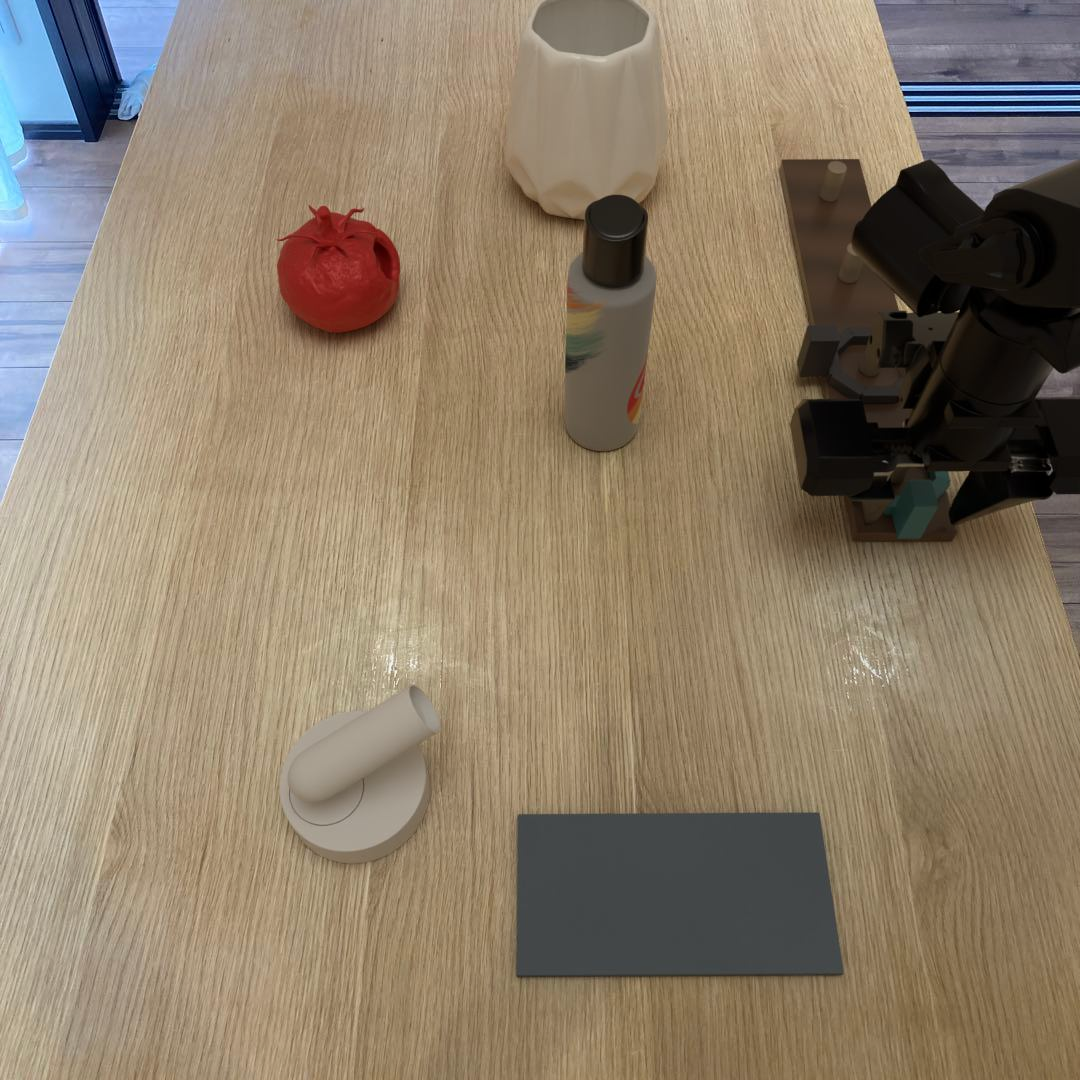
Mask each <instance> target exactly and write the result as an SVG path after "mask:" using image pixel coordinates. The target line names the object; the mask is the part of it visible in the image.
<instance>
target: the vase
mask: <svg viewBox="0 0 1080 1080" xmlns="http://www.w3.org/2000/svg"><path fill="white" fill-rule="evenodd" d="M662 55H663V54H662V42H661V31H660V25H659V21H658V18H657V16H656V15H655V14H654V12H653V11H652V9H650V8H649V7H648V6H647V5H645V4H644V3H642V2H641V1H640V0H539V1H537V2H536V3H534V5H533V6H532V7H531V8H530V10H529V12H528V15H527V19H525V22H524V26H523V28H522V31H521V34H520V39H519V44H518V51H517V57H516V63H515V67H514V72H513V76H512V82H511V86H510V91H509V96H508V97H509V98H508V103H507V107H506V116H505V160H504V161H505V165H506V168H507V170H508V172H509V173H510V174H511V176H512V178H513V179H514V181H515V182H516V183H517V185H518V186H519V187H520V188H521V190H522V192H523V194H524V195H525V196H526V197H527V198H529V199H530V200H532V201H534V202H536V203H538V204H539V206H540V207H541V209H542V210H543V211H544V212H545V213H546V214H548V215H551V216H555V217H560V218H561V217H562V218H566V219H569V218H570V219H574V220H575V219H577V220H581V221H584V219H585V211H586V209H587V207H588V206H589V205H590V204H591V203H592V202H594V201H597V200H600V199H601V198H603V197H606V196H609V195H625V196H628V197H630V198H632V199H634V200H635V201H636V202H637V203H638V204H639V203H642V202H643V201H644V200H645V199H646V198H647V196H648V195H649V194H650V193H651V190H652V189H653V188H654V186H655V184H656V181H657V176H658V173H659V169H660V166H661V162H662V160H663V155H664V153H665V149H666V146H667V144H668V141H669V136H670V135H669V134H670V133H669V121H668V111H667V105H666V104H667V102H666V96H665V83H664V68H663V56H662Z"/></svg>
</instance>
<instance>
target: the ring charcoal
mask: <svg viewBox="0 0 1080 1080" xmlns="http://www.w3.org/2000/svg"><path fill="white" fill-rule="evenodd" d="M870 330H871V327H848V328H845V329H843V330H842V331H841V332H840V333H838V328H837V325H810V324H809V325H807V326H806V330H805V332H804V336H803V339H802V342H801V346H800V350H799V352H798V356H797V359H796V365H797V371H798V376H799V377H800V378H820V377H826V380H827V382H829V383H828V384H829V385H830V386H832V387H833V388H835V389H836V390H838V391H839V392H841V393H842V394H844V395H845V396H847V397H848V398H850V399H859V400H862V401H863V404H895V403H896V402H897V403H898V402H899V401H900V399H899V395H898V393H899V391H900V389H901V387H902V384H903V382H904V379H903V377H901V378H900V379H899V380H898V381H897V382H896V383H895V384H894V385H893V386H864V385H863V384H861V383H860V382H858V381H857V380H855V379H854V378H852V377H850V376H849V375H847V374H846V373H844V372H843V371H842V370H841V365H840V361H839V356H838V355H839V354H840V353H842V352H843V351H844V350H845V349H846V348H847V347H848V346H849V345H850V344H868V340H869V335H870Z"/></svg>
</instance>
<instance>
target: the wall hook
mask: <svg viewBox="0 0 1080 1080" xmlns="http://www.w3.org/2000/svg"><path fill="white" fill-rule="evenodd" d="M441 727H442V726H441V720H440V717H439V714H438V711H437V710H436V708H435V706H434V703H433V702H432V701H431V699H430V697H428V695H427V693H425V691H424V690H423V689H422V688H421V687H419V686H418V685H416V684H413V683H412V684H410V685H407V686H406V687H404V688H403V689H401V690H399V691H398V692H396V693H394V694H393V695H392V696H390V697H388V698H386V699H385V700H384V701H382V702H380V703H379V704H377V705H375V706H374V707H372V708H370V709H369V710H365V709H364V710H363V709H362V710H361V709H359V710H358V709H357V710H348V711H342V712H338V713H334V714H332V715H330V716H327V717H325V718H323V719H321V720H319V721H318V722H316V723H315V724H313V725H312V726H310V727H309V728H308V729H307V730H306V731H305V732H303V734H302V735H300V736H299V738H298V739H297V740H296V742H294V743H293V745H292V746H291V748H290V749H289V752H288V753H287V755H286V757H285V760H284V762H283V765H282V768H281V772H280V776H279V777H280V778H279V797H280V803H281V807H282V810H283V813H284V815H285V817H286V819H287V821H288V822H289V824H290V826H291V827H292V829H293V830H294V831H295V833H296V834H297V836H298V837H299V839H300V841H302V842H303V844H304V845H305V846H306V847H307V848H309V849H310V850H311V851H312V852H314V853H315V854H316V855H318V856H320V857H322V858H324V859H325V860H329V861H332V862H336V863H341V864H350V865H351V864H352V865H353V864H354V865H355V864H364V863H370V862H373V861H377V860H380V859H382V858H384V857H386V856H389V855H390V854H392V853H393V852H395V851H397V850H399V849H400V848H401V847H402V846H403V845H404V844H405V843H407V842H408V841H409V840H410V838H411V837H412V836H413V835H414V834H415V832H416V831H417V830H418V829H419V827H420V825H421V823H422V822H423V819H424V818H425V815H426V812H427V811H428V806H429V803H430V796H431V780H430V775H429V770H428V767H427V763H426V759H425V756H424V753H423V750H422V748H421V746H420V744H422V743H423V742H425V741H428V739H430V738H432V737H433V736H435V735H436V734H438V733H440V732H441Z"/></svg>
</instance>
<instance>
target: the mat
mask: <svg viewBox="0 0 1080 1080" xmlns="http://www.w3.org/2000/svg"><path fill="white" fill-rule="evenodd" d="M516 871H517V873H516V875H517V881H516V882H517V883H516V889H517V890H516V894H517V895H516V907H517V908H516V978H611V977H612V978H615V977H619V978H621V977H622V978H623V977H624V978H625V977H626V978H627V977H629V978H630V977H632V978H633V977H637V978H638V977H639V978H640V977H645V978H646V977H790V976H791V977H793V976H794V977H796V976H797V977H800V976H801V977H804V976H806V977H807V976H813V977H814V976H816V977H817V976H843V975H844V972H845V971H844V965H843V958H842V952H841V945H840V940H839V933H838V925H837V919H836V913H835V912H836V911H835V906H834V899H833V898H834V897H833V893H832V885H831V879H830V872H829V867H828V859H827V853H826V846H825V839H824V833H823V825H822V820H821V814H820V812H818V811H817V812H684V813H683V812H679V813H677V812H675V813H674V812H672V813H671V812H670V813H669V812H667V813H665V812H663V813H661V812H660V813H659V812H658V813H654V812H653V813H652V812H651V813H650V812H649V813H518V814H517V869H516Z"/></svg>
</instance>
